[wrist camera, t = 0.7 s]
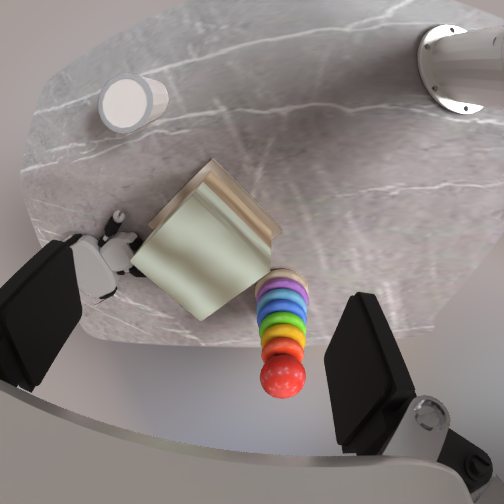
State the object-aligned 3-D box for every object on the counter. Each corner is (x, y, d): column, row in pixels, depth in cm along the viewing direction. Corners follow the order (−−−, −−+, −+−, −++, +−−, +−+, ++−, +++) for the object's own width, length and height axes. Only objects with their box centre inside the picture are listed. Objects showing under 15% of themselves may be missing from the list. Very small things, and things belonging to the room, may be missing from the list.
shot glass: (143, 136, 36) (119, 146, 30) (115, 97, 34) (87, 101, 28) (184, 103, 34) (165, 106, 28) (154, 64, 32) (130, 60, 26)
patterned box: (213, 157, 37) (191, 181, 28) (282, 228, 41) (283, 272, 32) (150, 221, 42) (118, 260, 33) (215, 280, 46) (201, 330, 37)
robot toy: (126, 198, 42) (62, 238, 45) (114, 208, 38) (48, 250, 41) (167, 266, 47) (100, 295, 50) (160, 281, 43) (91, 310, 46)
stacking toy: (244, 288, 47) (228, 390, 30) (282, 256, 44) (284, 358, 27) (280, 317, 49) (279, 417, 33) (318, 288, 46) (334, 390, 30)
